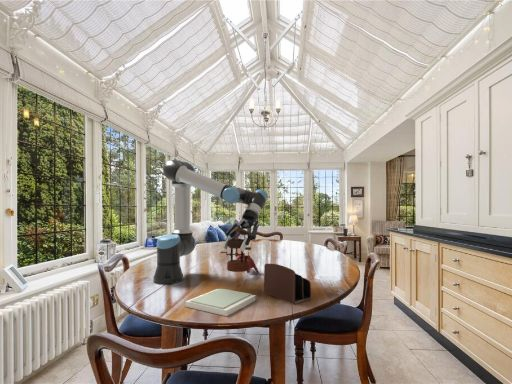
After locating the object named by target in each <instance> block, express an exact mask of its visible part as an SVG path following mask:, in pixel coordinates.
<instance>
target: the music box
mask: <svg viewBox="0 0 512 384" xmlns="http://www.w3.org/2000/svg"><path fill="white" fill-rule="evenodd" d="M248 233H249V232H248V231H247V229H240V228H236V235H237V236H236V235H235V238H232V239H230V240H228V242H227V245H228V248H229V249H230V253H228V251H227V250H225V251H220V254H225V255H226V256H230V260H228V262H226V269H227V271H228V272H232V273H233V272H234V273H243V272H244V273H245V272H246V271H248V270H249V262H248V261H247V259H248V260H249V259H250V257H251V255H250V252H249V251H251V250H252V247H250V244H249V245H247V246H246V248H245V250H244V252H242V250H241V249H240V247H241V245H242V243H243V241H244V240H245V238H246V236H248V235H247V234H248ZM238 234H240V235H241V236H244V237H243V238H239V236H238ZM250 234H252V232H251V233H250ZM234 249H235V253H234ZM239 249H240V253H239ZM245 251H247V256H245V255H246V254H245ZM238 255H241V256H240V258H241V260H237V259H234V256H235V257H236V258H238V257H239V256H238ZM243 255H244V256H243ZM243 258H245V260H243ZM249 271H250V270H249Z"/></svg>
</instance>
